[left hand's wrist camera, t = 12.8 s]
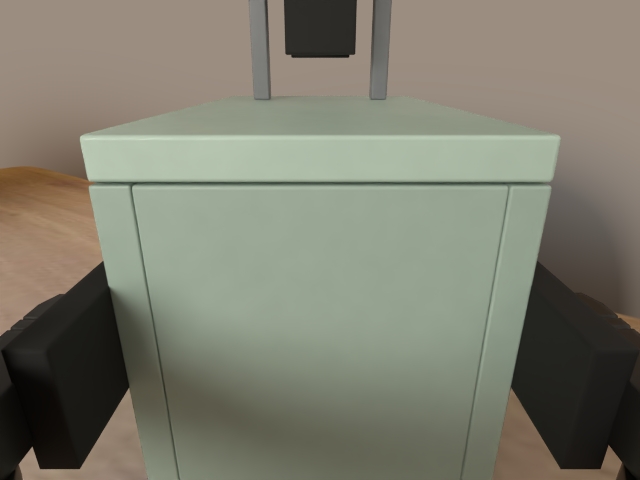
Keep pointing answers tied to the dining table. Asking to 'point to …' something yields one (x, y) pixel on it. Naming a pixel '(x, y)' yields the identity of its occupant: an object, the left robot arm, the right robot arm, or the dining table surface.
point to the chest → (320, 323)
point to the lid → (320, 135)
